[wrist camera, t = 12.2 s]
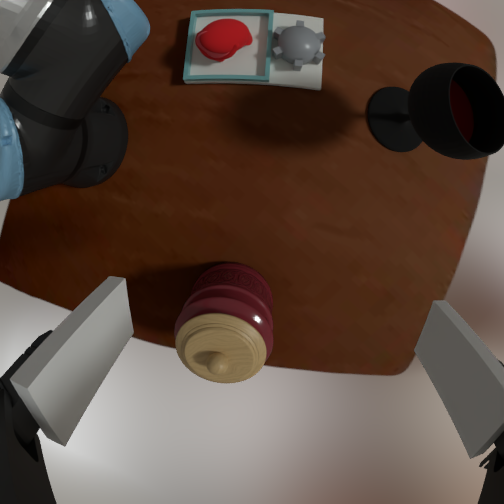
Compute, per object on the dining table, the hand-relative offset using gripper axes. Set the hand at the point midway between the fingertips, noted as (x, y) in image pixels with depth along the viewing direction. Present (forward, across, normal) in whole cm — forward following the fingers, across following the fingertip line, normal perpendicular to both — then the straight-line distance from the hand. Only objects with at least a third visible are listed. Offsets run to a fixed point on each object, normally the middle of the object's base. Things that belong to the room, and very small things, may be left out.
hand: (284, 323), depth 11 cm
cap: (+31, -8, +22) cm, 39 cm away
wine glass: (+32, +18, +14) cm, 39 cm away
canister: (+32, -5, -17) cm, 36 cm away
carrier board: (+32, -4, +22) cm, 39 cm away
